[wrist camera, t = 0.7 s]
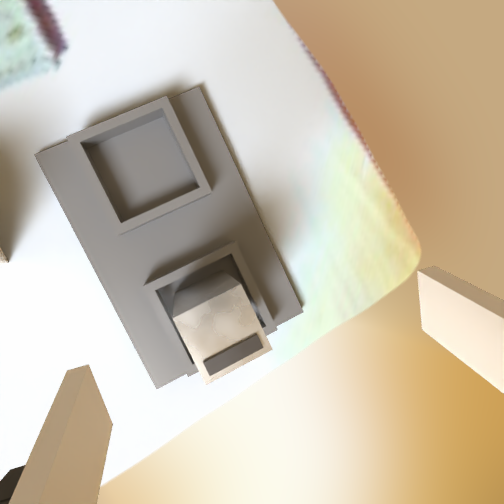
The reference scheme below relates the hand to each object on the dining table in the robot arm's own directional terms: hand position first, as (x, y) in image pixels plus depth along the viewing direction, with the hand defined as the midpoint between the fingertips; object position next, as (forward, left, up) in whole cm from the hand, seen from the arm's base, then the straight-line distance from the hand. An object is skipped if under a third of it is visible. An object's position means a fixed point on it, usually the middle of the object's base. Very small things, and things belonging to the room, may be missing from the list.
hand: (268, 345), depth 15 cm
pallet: (-5, -1, -24) cm, 25 cm away
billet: (+2, -1, -23) cm, 23 cm away
